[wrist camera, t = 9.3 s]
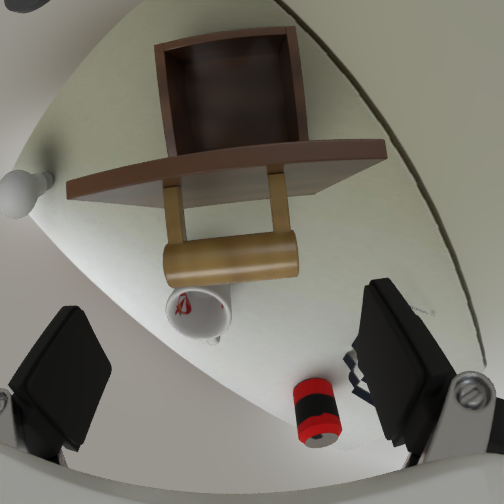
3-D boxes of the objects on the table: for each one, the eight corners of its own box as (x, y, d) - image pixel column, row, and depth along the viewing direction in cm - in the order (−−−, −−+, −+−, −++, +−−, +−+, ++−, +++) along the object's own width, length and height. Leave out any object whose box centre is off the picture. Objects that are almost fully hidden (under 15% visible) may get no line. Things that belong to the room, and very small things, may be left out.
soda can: (322, 371, 49) (334, 425, 38) (336, 390, 52) (349, 440, 41) (285, 387, 51) (291, 440, 40) (302, 404, 54) (309, 453, 43)
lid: (65, 181, 10) (80, 304, 11) (385, 138, 10) (398, 276, 10) (175, 201, 27) (181, 256, 27) (312, 186, 26) (318, 242, 27)
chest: (176, 61, 29) (153, 45, 21) (284, 47, 28) (295, 25, 20) (193, 184, 35) (176, 204, 27) (297, 172, 35) (312, 189, 27)
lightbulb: (32, 165, 33) (-17, 183, 23) (60, 154, 33) (9, 170, 23) (41, 202, 36) (-5, 229, 26) (69, 194, 35) (22, 221, 25)
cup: (244, 315, 44) (243, 352, 36) (194, 322, 44) (185, 359, 37) (227, 251, 39) (221, 282, 32) (171, 261, 40) (155, 293, 32)
